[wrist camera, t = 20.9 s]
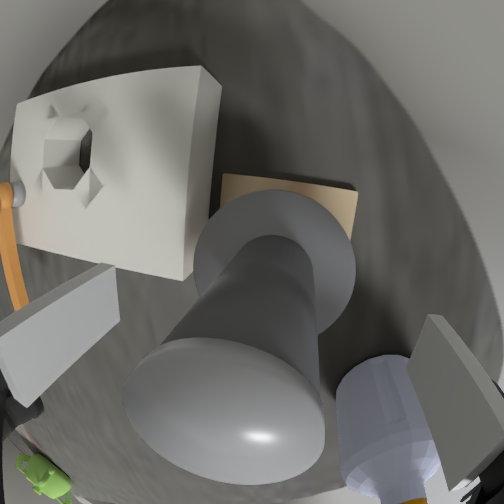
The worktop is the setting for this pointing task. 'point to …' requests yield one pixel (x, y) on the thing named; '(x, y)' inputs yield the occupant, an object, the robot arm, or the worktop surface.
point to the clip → (10, 249)
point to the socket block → (118, 169)
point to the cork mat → (329, 197)
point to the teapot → (45, 476)
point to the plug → (248, 344)
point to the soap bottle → (384, 433)
